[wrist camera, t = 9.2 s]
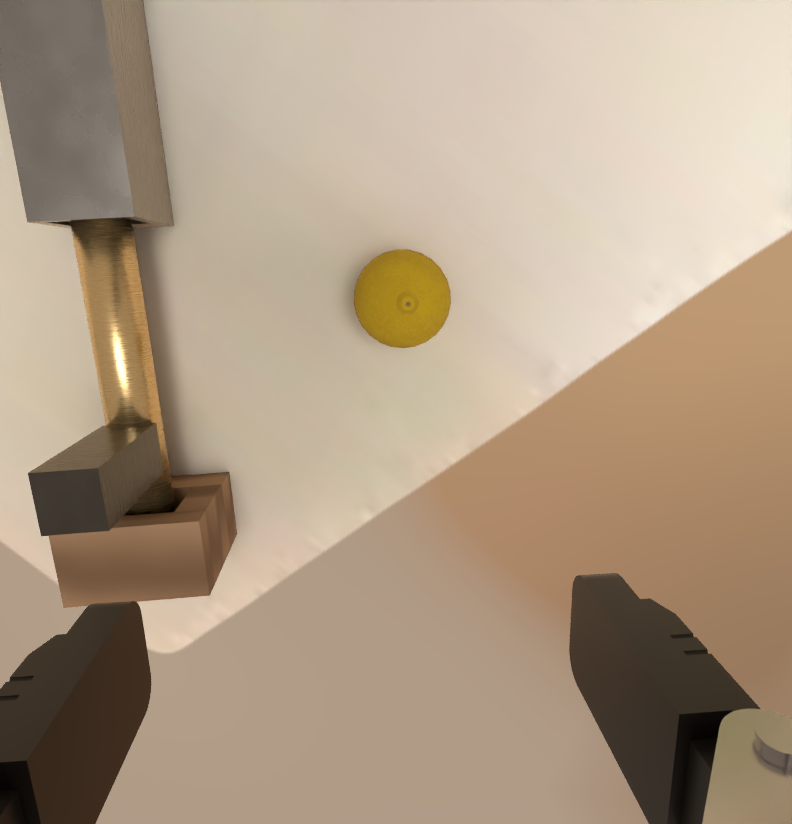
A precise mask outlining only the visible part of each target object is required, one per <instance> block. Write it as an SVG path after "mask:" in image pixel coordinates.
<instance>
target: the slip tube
mask: <svg viewBox="0 0 792 824" xmlns="http://www.w3.org/2000/svg"><path fill="white" fill-rule="evenodd" d="M70 223H71V229H72V234H73V240H74V246H75V251H76V257H77V263H78V268H79V274H80V280H81V285H82V291H83V297H84V302H85V308H86V313H87V319H88V325H89V330H90V336H91V342H92V347H93V353H94V359H95V364H96V370H97V376H98V381H99V387H100V393H101V398H102V404H103V410H104V415H105V421H106V426H102V427H100V428H99V429H97V430H96V431H94V432H92V433H91V434H89V435H88V436H86V437H84V438H83V439H81V440H80V441H78V442H77V443H75V444H73V445H72V446H70V447H69V448H67V449H65V450H64V451H62V452H61V453H59V454H58V455H56V456H54V457H53V458H51V459H50V460H48V461H46V462H45V463H43V464H42V465H40V466H39V467H37V468H35V469H34V470H32V471H31V472H29V473H28V476H29V481H30V485H31V490H32V495H33V499H34V504H35V509H36V513H37V518H38V523H39V527H40V532H41V536H50V535H63V534H75V533H88V532H101V531H110V530H111V529H112V528H113V526H114V525H115V524H116V523H117V522H118V521H119V520H120V519H121V518H122V517H123V516H131V515H144V514H157V513H170V512H175V510H176V506H175V500H174V493H173V487H172V480H171V474H170V467H169V461H168V454H167V448H166V441H165V434H164V428H163V421H162V415H161V408H160V402H159V395H158V389H157V382H156V376H155V369H154V363H153V356H152V350H151V343H150V337H149V330H148V324H147V317H146V311H145V304H144V298H143V291H142V285H141V278H140V271H139V265H138V258H137V252H136V245H135V239H134V232H133V226H132V219H128V218H121V219H102V220H82V221H70Z"/></svg>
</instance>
